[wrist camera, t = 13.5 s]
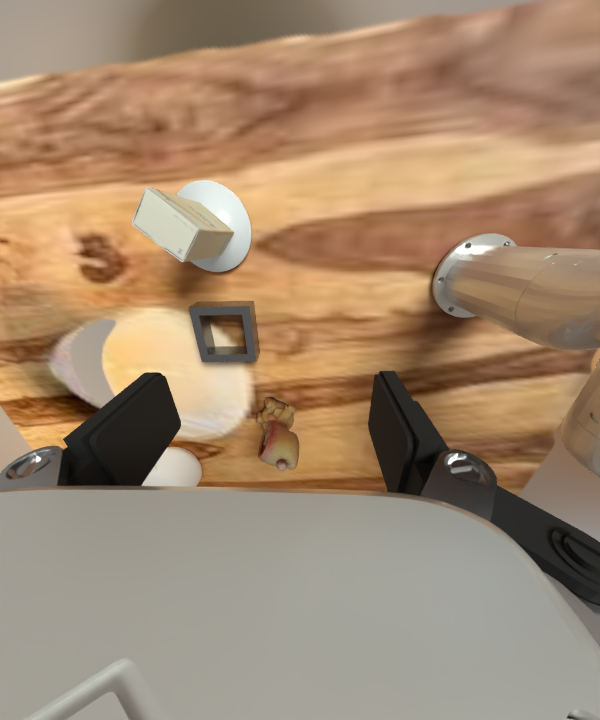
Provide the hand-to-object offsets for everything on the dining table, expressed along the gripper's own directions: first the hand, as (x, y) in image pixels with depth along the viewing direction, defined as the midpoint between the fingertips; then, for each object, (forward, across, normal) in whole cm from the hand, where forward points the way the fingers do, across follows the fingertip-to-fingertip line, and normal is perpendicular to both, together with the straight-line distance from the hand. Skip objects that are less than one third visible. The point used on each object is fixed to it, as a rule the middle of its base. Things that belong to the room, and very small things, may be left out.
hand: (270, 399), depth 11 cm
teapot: (+33, +32, +44) cm, 63 cm away
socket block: (+32, +13, +8) cm, 36 cm away
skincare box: (+32, +13, -8) cm, 35 cm away
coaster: (+32, +13, -8) cm, 36 cm away
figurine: (+32, +5, +28) cm, 43 cm away
